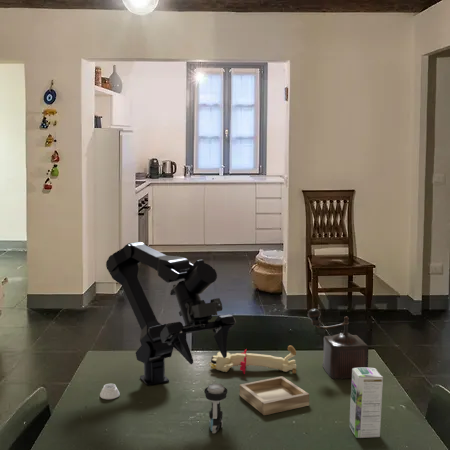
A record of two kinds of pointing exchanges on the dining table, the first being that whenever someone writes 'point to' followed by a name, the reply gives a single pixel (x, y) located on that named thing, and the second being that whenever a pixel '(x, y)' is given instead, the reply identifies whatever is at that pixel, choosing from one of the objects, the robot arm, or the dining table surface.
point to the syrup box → (366, 402)
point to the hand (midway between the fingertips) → (209, 360)
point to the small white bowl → (109, 392)
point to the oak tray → (274, 395)
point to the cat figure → (254, 361)
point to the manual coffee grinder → (341, 349)
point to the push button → (215, 404)
